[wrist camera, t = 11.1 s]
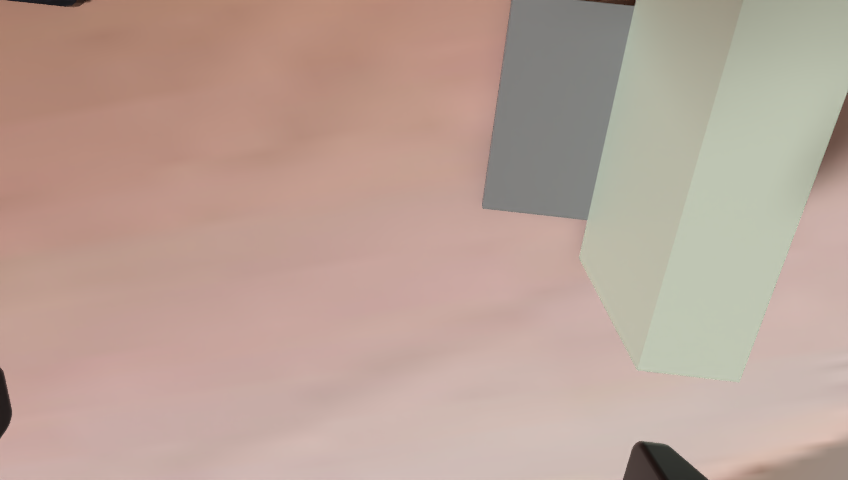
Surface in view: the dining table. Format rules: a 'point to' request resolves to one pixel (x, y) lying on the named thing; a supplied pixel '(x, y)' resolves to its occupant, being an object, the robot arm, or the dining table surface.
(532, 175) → the mat
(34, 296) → the dining table surface
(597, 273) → the sheet
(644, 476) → the robot arm
